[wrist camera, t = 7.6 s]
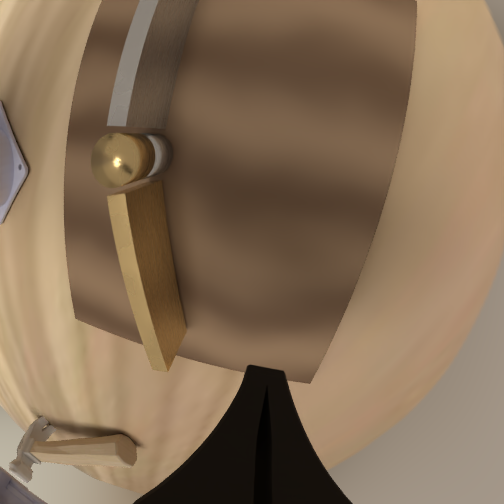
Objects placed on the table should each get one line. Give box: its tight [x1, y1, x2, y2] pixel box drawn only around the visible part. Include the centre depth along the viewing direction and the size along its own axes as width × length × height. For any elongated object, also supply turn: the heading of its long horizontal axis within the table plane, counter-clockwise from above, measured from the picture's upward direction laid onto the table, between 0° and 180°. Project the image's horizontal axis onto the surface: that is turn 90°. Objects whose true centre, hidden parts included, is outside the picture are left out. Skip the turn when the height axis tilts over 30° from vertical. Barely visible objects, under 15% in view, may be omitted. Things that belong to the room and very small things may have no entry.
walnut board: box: [64, 0, 417, 384], centre depth 14 cm, size 28×20×1 cm
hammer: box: [9, 416, 137, 483], centre depth 27 cm, size 16×5×30 cm
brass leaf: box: [91, 133, 187, 372], centre depth 14 cm, size 13×2×4 cm, turn 4°
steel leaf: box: [107, 0, 199, 179], centre depth 10 cm, size 13×2×4 cm, turn 169°
